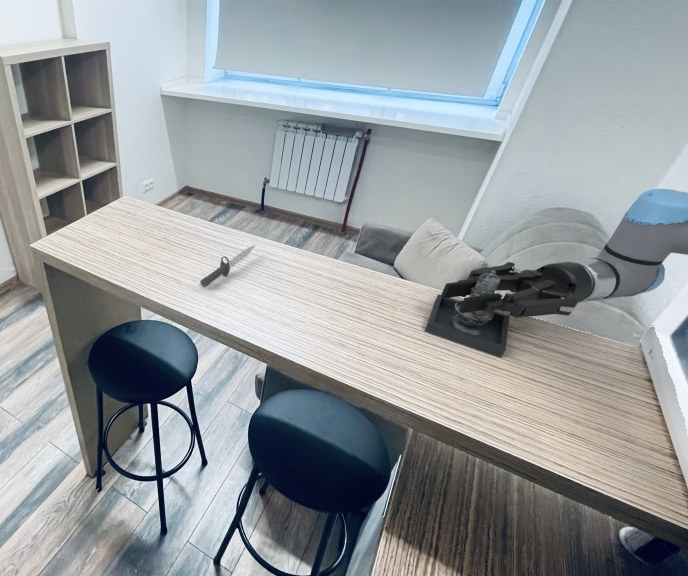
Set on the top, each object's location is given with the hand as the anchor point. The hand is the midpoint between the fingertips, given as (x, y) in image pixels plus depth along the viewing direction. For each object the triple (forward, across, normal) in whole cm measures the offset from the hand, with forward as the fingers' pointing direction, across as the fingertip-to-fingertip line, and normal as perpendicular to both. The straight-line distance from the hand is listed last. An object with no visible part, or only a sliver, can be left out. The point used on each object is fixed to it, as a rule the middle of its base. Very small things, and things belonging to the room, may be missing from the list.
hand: (454, 298), depth 69 cm
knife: (+31, +27, -8) cm, 42 cm away
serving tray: (-5, 0, -8) cm, 9 cm away
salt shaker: (-5, 0, -7) cm, 9 cm away
